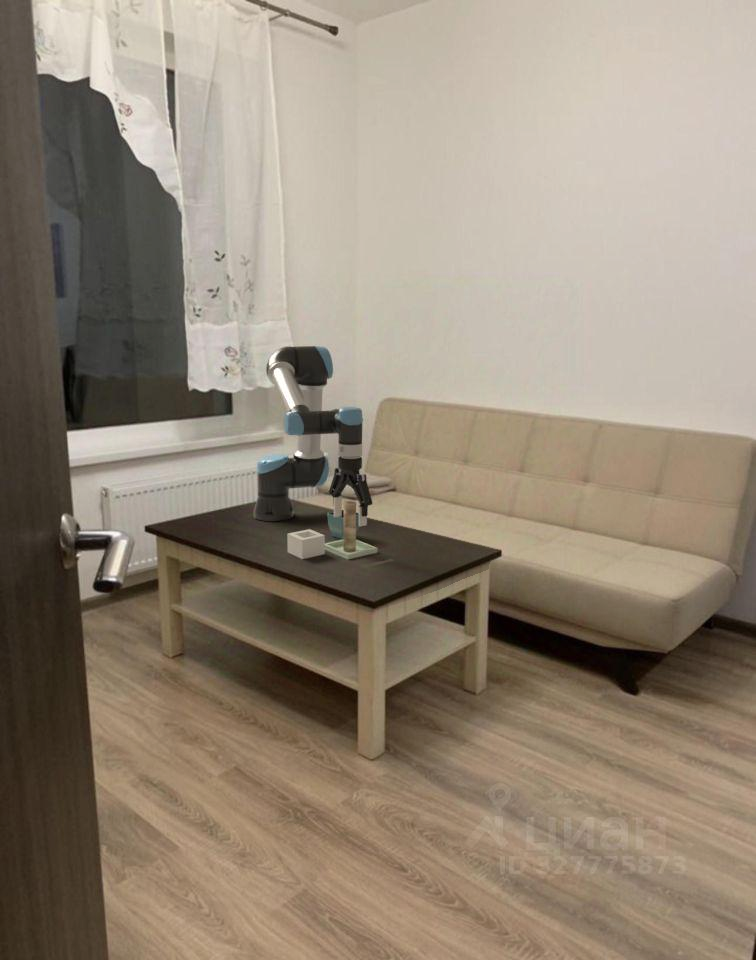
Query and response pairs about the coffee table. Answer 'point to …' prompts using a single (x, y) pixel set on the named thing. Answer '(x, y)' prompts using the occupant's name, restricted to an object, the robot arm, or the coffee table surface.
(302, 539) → the hollow block
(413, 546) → the coffee table surface
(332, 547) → the tray
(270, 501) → the robot arm
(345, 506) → the dowel
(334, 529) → the flower pot
